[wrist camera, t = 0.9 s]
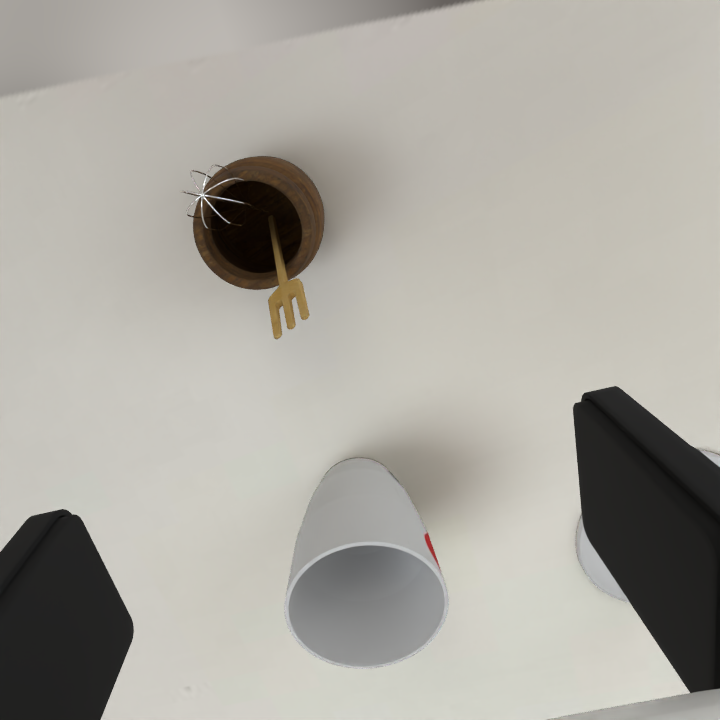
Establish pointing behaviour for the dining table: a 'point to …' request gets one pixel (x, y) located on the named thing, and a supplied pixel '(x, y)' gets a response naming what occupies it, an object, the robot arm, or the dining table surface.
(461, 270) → the dining table surface
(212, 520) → the dining table surface
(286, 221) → the utensil holder
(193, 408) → the dining table surface
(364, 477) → the cup
